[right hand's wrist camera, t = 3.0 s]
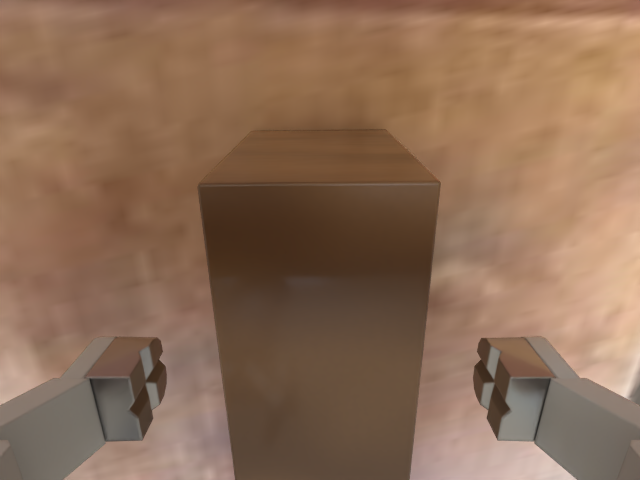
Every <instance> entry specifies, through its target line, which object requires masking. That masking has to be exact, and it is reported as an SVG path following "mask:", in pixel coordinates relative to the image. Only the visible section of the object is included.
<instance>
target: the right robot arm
mask: <svg viewBox="0 0 640 480" xmlns="http://www.w3.org/2000/svg"><path fill="white" fill-rule="evenodd" d="M162 352H163V350H162V345H161V341H160V340H159V339H158V338H157V337H97V338H94V339H93V341H92V342H91V343H90V344H89V345H88V346H87V347H86V349H85V350H84V351H83V352H82V353H81V354H80V356H79V357H78V358H77V359H76V360H75V361H74V362H73V364H72V365H71V366H70V367H69V368H68V369H67V371H66V372H65V373H64V374H63V375H62V376H61V378H53V379H51V380H49V381H47V382H45V383H43V384H41V385H39V386H37V387H35V388H33V389H31V390H30V391H28V392H26V393H24V394H22V395H20V396H18V397H16V398H14V399H12V400H10V401H8V402H6V403H4V404H2V405H0V480H63V479H64V478H65V477H67V476H68V475H69V474H70V473H71V472H73V471H74V470H75V469H76V468H77V467H78V466H80V465H81V464H82V463H83V462H84V461H85V460H87V459H88V458H89V457H90V456H91V455H93V454H94V453H95V452H96V451H97V450H98V449H100V448H101V447H102V446H103V445H104V444H105V441H139V440H143V438H144V436H145V434H146V432H147V430H148V428H149V426H150V424H151V422H152V420H153V415H152V410H153V409H154V408H156V407H157V406H158V405H160V403H161V401H162V399H163V397H164V393H165V389H166V384H167V374H166V367H165V365H164V364H163V363H162V362H161V361H160V360H159V358H160V356H161V354H162ZM477 352H478V354H479V356H480V358H481V360H480V361H479V362H478V363H477V364H476V365H475V367H474V375H473V381H474V390H475V393H476V397H477V399H478V401H479V403H480V405H482V406H483V407H484V408H486V409H487V410H488V415H487V420H488V422H489V424H490V426H491V428H492V430H493V432H494V434H495V436H496V438H497V440H499V441H535V442H534V443H535V444H536V445H537V446H538V447H539V448H541V449H542V450H543V451H544V452H545V453H546V454H548V455H549V456H550V457H551V458H552V459H553V460H555V461H556V462H557V463H558V464H559V465H561V466H562V467H563V468H564V469H565V470H566V471H568V472H569V473H570V474H571V475H572V476H573V477H575V478H576V479H577V480H640V405H638V404H636V403H634V402H632V401H630V400H628V399H626V398H624V397H622V396H620V395H618V394H616V393H614V392H612V391H610V390H608V389H607V388H605V387H603V386H601V385H599V384H597V383H595V382H593V381H591V380H589V379H587V378H579V376H578V375H577V374H576V373H575V372H574V371H573V369H572V368H571V367H570V366H569V365H568V364H567V363H566V361H565V360H564V359H563V358H562V357H561V356H560V354H559V353H558V352H557V351H556V350H555V349H554V347H553V346H552V345H551V344H550V343H549V342H548V341H547V339H545V338H543V337H541V336H537V337H518V338H481V340H480V342H479V344H478V349H477Z"/></svg>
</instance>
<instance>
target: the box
mask: <svg viewBox="0 0 640 480" xmlns="http://www.w3.org/2000/svg"><path fill="white" fill-rule="evenodd" d="M440 186H441V183H440V181H439V180H438V179H437V178H436V177H435V176H434V175H433V174H432V173H431V172H430V171H428V170H427V169H426V168H425V167H424V166H423V165H422V164H421V163H420V162H419V161H418V160H417V159H416V158H415V157H414V156H413V155H412V154H411V153H410V152H409V151H408V150H407V149H406V148H405V147H403V146H402V145H401V144H400V143H399V142H398V141H397V140H396V139H395V138H394V137H393V136H392V135H391V134H390V133H389V132H388V131H387V130H303V131H251V132H250V133H249V134H248V135H247V136H246V137H245V138H244V139H243V140H242V141H241V142H240V143H239V144H238V145H237V146H236V147H235V148H234V149H233V150H232V151H231V152H230V153H229V154H228V155H227V156H226V157H225V158H224V159H223V160H222V161H221V162H220V163H219V164H218V165H217V166H216V167H215V168H214V169H213V170H212V171H211V172H210V173H209V174H208V175H207V176H206V177H205V178H204V179H203V180H202V181H201V182H200V183H199V184H198V194H199V202H200V210H201V218H202V225H203V233H204V241H205V249H206V256H207V264H208V272H209V280H210V288H211V295H212V303H213V311H214V319H215V327H216V334H217V342H218V350H219V358H220V365H221V373H222V381H223V389H224V397H225V404H226V412H227V420H228V428H229V436H230V443H231V451H232V459H233V467H234V474H235V480H410V470H411V461H412V451H413V442H414V432H415V423H416V413H417V404H418V395H419V385H420V376H421V366H422V357H423V347H424V338H425V328H426V319H427V309H428V300H429V290H430V281H431V271H432V262H433V252H434V243H435V234H436V224H437V215H438V205H439V196H440Z"/></svg>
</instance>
